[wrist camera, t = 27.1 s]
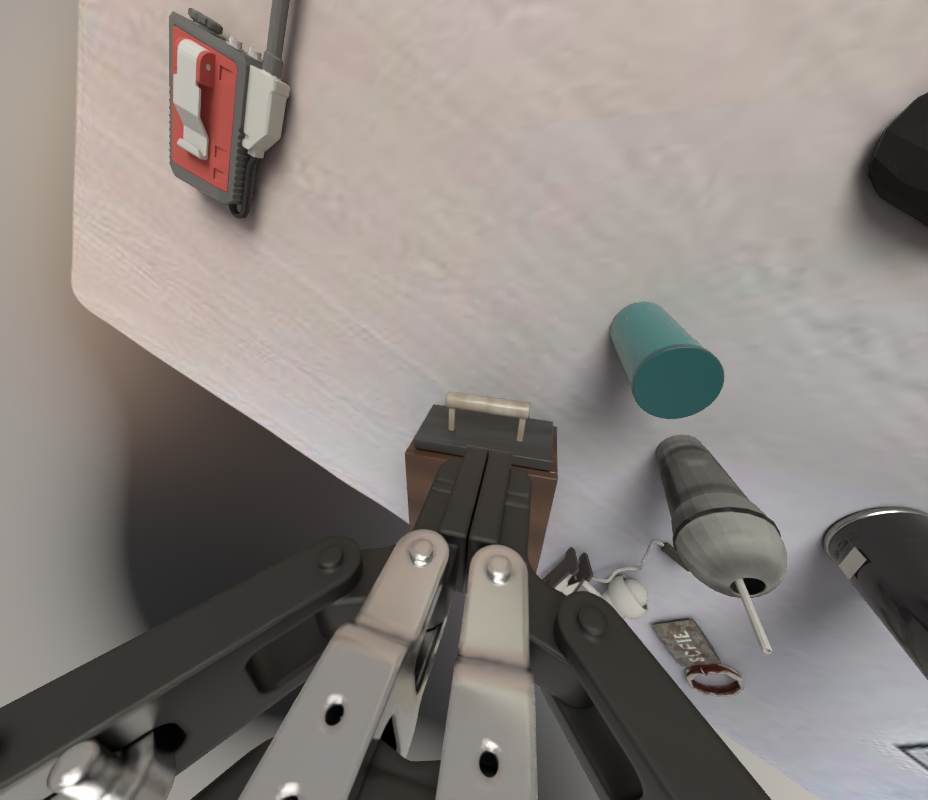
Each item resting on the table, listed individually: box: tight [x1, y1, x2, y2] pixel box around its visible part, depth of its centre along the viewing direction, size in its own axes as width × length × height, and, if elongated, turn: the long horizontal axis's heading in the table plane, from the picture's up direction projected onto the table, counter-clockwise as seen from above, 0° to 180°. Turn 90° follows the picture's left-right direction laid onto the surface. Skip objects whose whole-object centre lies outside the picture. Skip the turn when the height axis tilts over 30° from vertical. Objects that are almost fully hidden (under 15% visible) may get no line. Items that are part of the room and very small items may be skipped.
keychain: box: [652, 619, 744, 697], centre depth 52 cm, size 8×19×2 cm, turn 36°
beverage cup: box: [656, 435, 787, 654], centre depth 29 cm, size 7×7×20 cm
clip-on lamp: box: [542, 540, 689, 619], centre depth 45 cm, size 12×6×18 cm
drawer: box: [414, 392, 553, 471], centre depth 39 cm, size 19×14×7 cm
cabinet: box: [405, 411, 558, 573], centre depth 41 cm, size 16×15×9 cm
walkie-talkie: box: [169, 0, 290, 218], centre depth 28 cm, size 9×4×20 cm
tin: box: [610, 302, 724, 419], centre depth 27 cm, size 5×5×12 cm
